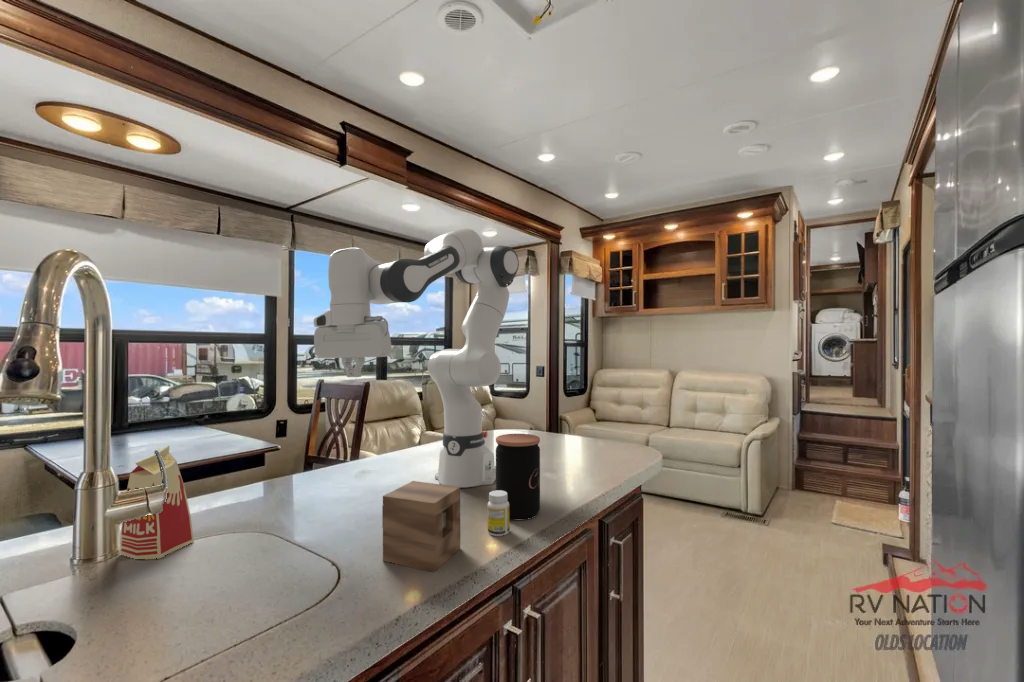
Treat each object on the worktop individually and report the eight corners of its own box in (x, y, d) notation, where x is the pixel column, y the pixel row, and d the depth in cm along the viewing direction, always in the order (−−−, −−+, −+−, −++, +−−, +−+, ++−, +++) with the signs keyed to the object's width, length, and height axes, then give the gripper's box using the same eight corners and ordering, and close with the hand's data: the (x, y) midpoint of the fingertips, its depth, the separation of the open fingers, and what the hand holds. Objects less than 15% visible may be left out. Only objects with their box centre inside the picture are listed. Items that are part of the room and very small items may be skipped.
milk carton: (159, 538, 96) (159, 442, 96) (196, 541, 94) (196, 444, 94) (113, 558, 87) (113, 452, 87) (153, 562, 85) (153, 455, 85)
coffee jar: (536, 523, 104) (536, 443, 104) (490, 519, 106) (490, 441, 106) (543, 506, 114) (542, 434, 114) (501, 503, 116) (501, 432, 116)
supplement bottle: (499, 525, 102) (499, 488, 102) (514, 532, 99) (514, 493, 99) (482, 532, 99) (482, 493, 99) (497, 538, 95) (497, 498, 95)
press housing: (413, 539, 95) (412, 480, 95) (460, 548, 91) (460, 486, 91) (382, 561, 86) (382, 496, 86) (434, 571, 82) (434, 503, 82)
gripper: (395, 315, 105) (399, 375, 105) (328, 319, 113) (331, 375, 114) (377, 315, 99) (380, 378, 100) (308, 319, 107) (311, 378, 108)
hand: (354, 377), depth 107 cm, fingers closed
